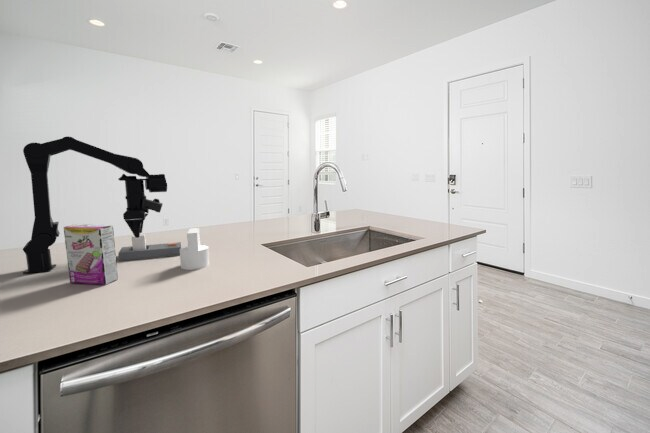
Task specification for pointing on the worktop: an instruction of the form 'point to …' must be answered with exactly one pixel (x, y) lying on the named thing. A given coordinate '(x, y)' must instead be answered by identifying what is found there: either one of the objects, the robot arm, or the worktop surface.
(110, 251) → the candy bar box
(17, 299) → the worktop surface
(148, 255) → the grey board with hole
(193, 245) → the cylinder with rectangular tab
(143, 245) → the plug block
